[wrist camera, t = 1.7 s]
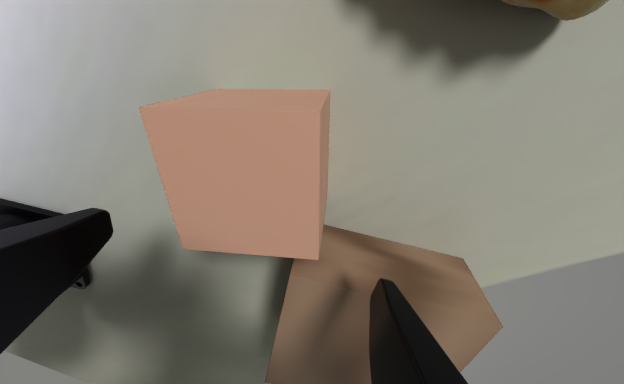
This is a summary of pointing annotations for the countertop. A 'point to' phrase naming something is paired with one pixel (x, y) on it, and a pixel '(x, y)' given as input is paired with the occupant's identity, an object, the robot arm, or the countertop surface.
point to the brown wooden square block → (356, 308)
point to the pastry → (561, 7)
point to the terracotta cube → (244, 169)
